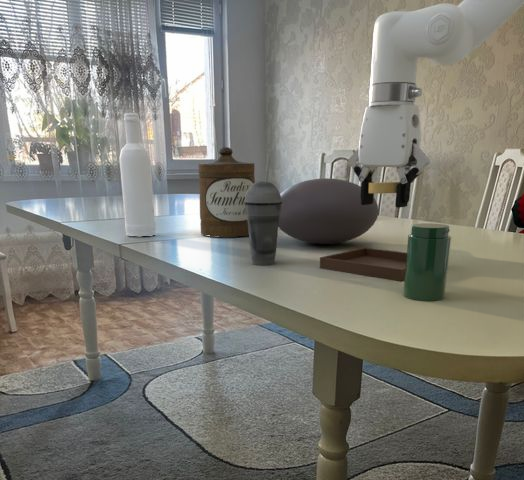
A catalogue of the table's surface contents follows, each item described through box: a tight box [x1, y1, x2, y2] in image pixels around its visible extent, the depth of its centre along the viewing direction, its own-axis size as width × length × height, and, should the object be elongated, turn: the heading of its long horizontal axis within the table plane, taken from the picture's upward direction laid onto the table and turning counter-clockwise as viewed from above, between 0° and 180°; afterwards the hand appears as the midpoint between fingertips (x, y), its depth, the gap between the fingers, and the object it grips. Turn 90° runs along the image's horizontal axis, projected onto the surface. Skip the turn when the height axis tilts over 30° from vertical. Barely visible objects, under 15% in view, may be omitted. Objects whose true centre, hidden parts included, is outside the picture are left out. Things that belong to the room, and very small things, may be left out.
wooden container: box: [197, 146, 256, 238], centre depth 143 cm, size 15×15×22 cm
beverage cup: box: [244, 155, 282, 266], centre depth 104 cm, size 7×7×20 cm
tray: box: [319, 246, 407, 282], centre depth 102 cm, size 17×15×2 cm
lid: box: [368, 181, 400, 194], centre depth 98 cm, size 6×6×2 cm
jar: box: [402, 222, 452, 302], centre depth 80 cm, size 6×6×10 cm
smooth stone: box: [278, 178, 379, 245], centre depth 128 cm, size 25×25×15 cm
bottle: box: [119, 112, 157, 236], centre depth 140 cm, size 8×8×30 cm
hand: (383, 204), depth 98 cm, fingers closed on lid, 6 cm apart
